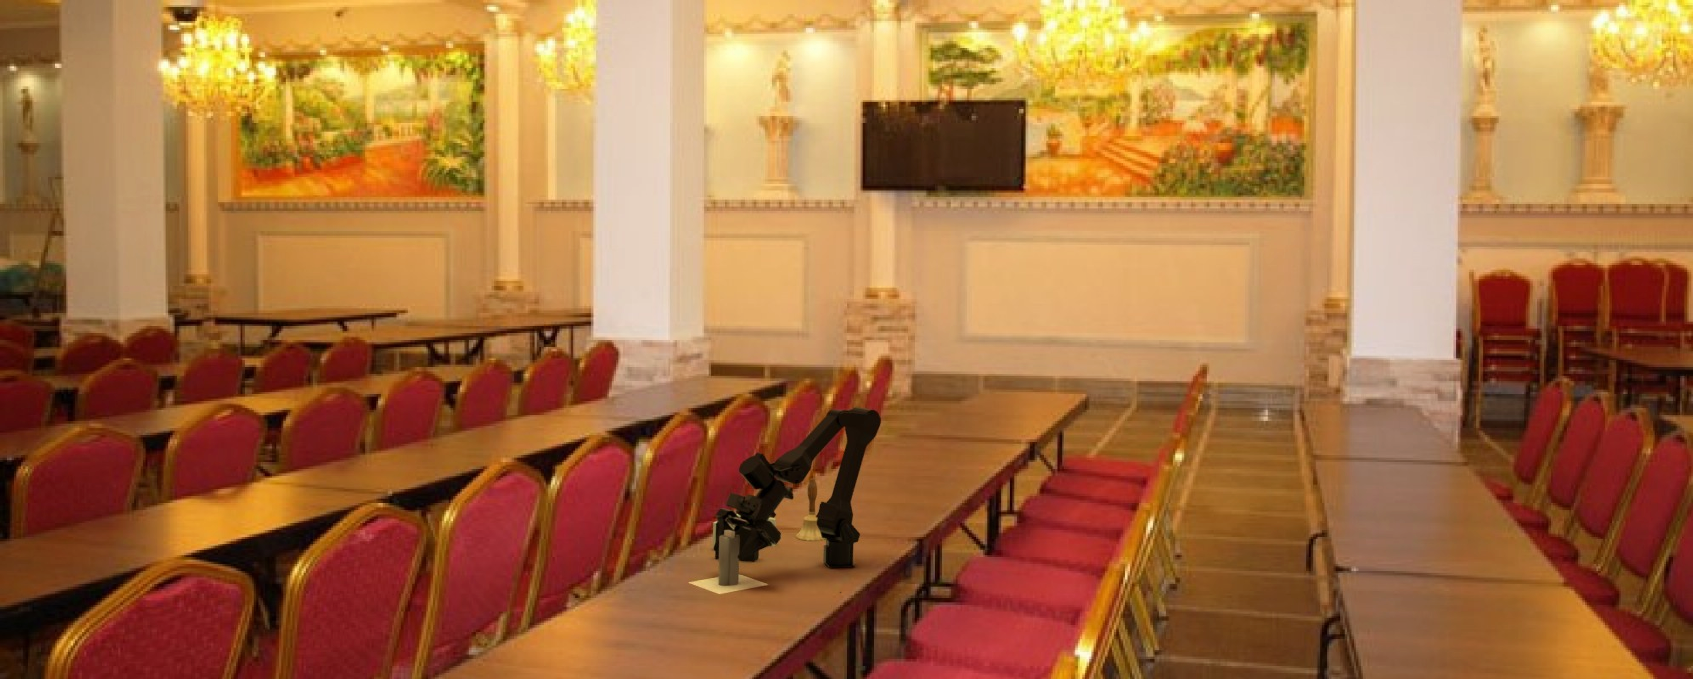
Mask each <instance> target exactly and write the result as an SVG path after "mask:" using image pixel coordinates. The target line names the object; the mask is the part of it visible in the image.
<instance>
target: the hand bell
mask: <svg viewBox="0 0 1693 679" xmlns="http://www.w3.org/2000/svg"><path fill="white" fill-rule="evenodd" d="M807 498H808V502H809V504H808V515H807V516H806V515H805V516H804V517H803V522H802V526H801V529H800V531H799V532H798V533H797V534H796V535H795V538H796V539H798V540H800V541H804V542H805V541H806V542H818V541H819V542H820V541H824V540H825V541H826V538H822V536H821V533H820V530H819V528H818V526H817V518H816V515H817V514H816V500H817V498H818V485H817V482H816V478H814V477H813V478H809V482H808V484H807Z"/></svg>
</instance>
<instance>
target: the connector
mask: <svg viewBox="0 0 1693 679" xmlns="http://www.w3.org/2000/svg"><path fill="white" fill-rule="evenodd" d="M739 540H740V535H737V534H735V532H734V531H731V530H724V535H721V536H719V559H718V576H717V577H718V584H719V585H721V586H733V585H737V584H738V583H739V574H740V561H739V559H738V558H737V556H738V555H739Z"/></svg>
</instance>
